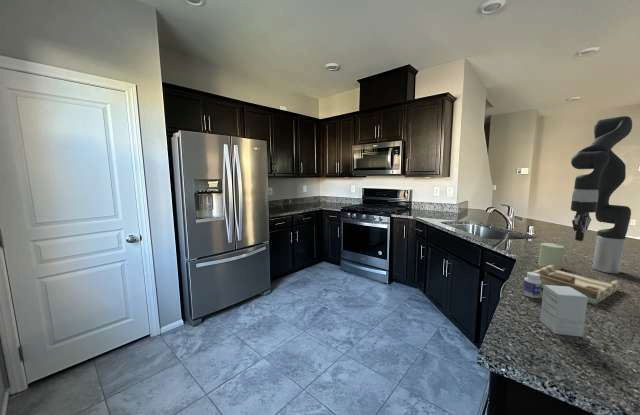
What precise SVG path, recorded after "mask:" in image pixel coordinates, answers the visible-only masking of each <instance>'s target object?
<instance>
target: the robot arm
mask: <svg viewBox="0 0 640 415" xmlns="http://www.w3.org/2000/svg"><path fill="white" fill-rule="evenodd" d="M632 129H633V121H632V117H630V116H628V115H626V116H625V115H623V116H621V115H620V116H617V117H616V116H615V117H610V118H603V119H600V120H597V121H596V122H595V123H594V130H593V135H594V139H593V140H592V141H591V142H590V143H589V144H588V145H587V147H584V148H582V149H581V150H579V151H577V152H576V153H574V155H573V157H572V158H571V160H570V164H571V166H572V168H574V169H577V170H592V171H591V172H590V173H587V174H580V175H577V176H576V177H575V180H574V186H573V191H572V194H571V195H572V196H571V203H570V204H571V205H570V211H572V212H575V215H574V216H573V219H572V220H571V222H572V223H571V224H572V227H573V231H575V235H574V236H575V238H574V240H575V241H578V242H583V241H584V238H585V232H586V231H588V228H589V226H590V224H591V221H592V218H591V216H590V213H595V214H594V215H595V219H596V221H598V222H600V223H603V224H604V223H605V224H613V225H614V226H613V227H611V228H610V227H609V228H606V229H605V228H604V229H599V230H597V233H596V239H595V240H596V241H595V248H594V254H593V261H592V266H591V267H592V269H593V270H596V271H598V272H603V273H608V274H615V275H617V274H620V273H621V266H622V260H623V254H624V248H625V241H626V235H627V232H628V229H629V223H630V221H631V216H632V209H631V208H630V206H627V205H619V204H616V205H615V204H610V201H609V200H610V198H611V196H612V195H613V193H614V192H616V190H617V189H618V188H619V187H620V186H621V185H622V184H623V183H624V181H625V180H626V174H627V173H626V168H627V165H626V164H625V162H624V161H623V160H622V159H621V158H620V157H619V156H618V155H617V154H615V152H613V150H612V149H613V148H614V146H616V145H617V144H618V143H620V142H621V141H623V140H624V139H625V138H627V136H628V135H629V134H630V133H631V132H632Z"/></svg>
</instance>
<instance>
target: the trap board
mask: <svg viewBox="0 0 640 415" xmlns="http://www.w3.org/2000/svg"><path fill="white" fill-rule="evenodd" d="M527 272H529V271H526V272H525V278H526V277H527ZM532 272H534V273H537V274H540V279H539V280H540V281H541V289H544V285H554V286H567V287H571V288H573V289H575V290H577V291H578V292H580V293H582V294H584V295H585V296H587V297H588V302H587V304H588V303H589V304H592V305H597V304H599V303H600V302H602V301H603V300H605V299H607V298H608V297H610V296H611V295H612V294H614V293H615V292H617V291H618V290H619V286H620V285H619V284H620V280H616V279H614V280H612V281H611V282H606V281H602V280H598V279H595V278H590V277H587V276H582V275H579V274H575V273H572V272H571V273H570V272H567V271H563V270H561V269H555V265H549V266H546V267H541V268H539V269H535V270H533V271H532ZM556 272H558V273H562V274H566V275H570V276H574V277H576V278H575V284H571V283H567V282H564V281H560V280H557V279H553V278H550V275H551V274H553V273H556Z"/></svg>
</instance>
